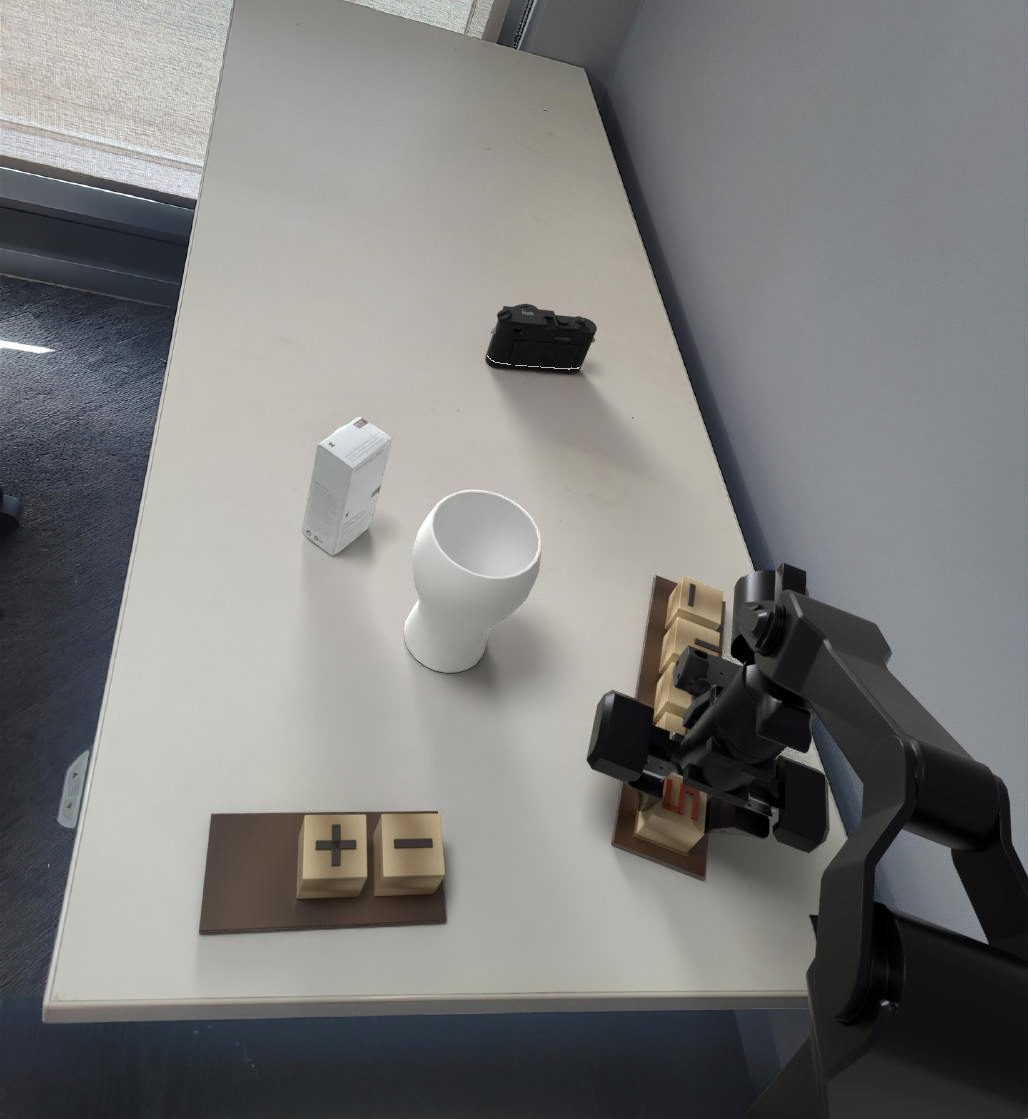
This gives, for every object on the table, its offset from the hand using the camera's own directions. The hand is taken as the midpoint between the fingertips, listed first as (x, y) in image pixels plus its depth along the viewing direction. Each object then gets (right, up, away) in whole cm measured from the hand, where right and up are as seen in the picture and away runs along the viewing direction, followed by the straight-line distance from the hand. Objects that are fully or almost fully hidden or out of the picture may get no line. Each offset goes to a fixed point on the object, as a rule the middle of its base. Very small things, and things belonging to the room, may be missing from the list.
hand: (667, 816), depth 76 cm
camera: (-11, +42, +44) cm, 61 cm away
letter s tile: (0, 0, 0) cm, 1 cm away
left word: (-26, 0, -9) cm, 28 cm away
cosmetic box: (-30, +22, +14) cm, 40 cm away
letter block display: (+2, +6, +10) cm, 12 cm away
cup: (-19, +13, +8) cm, 25 cm away
